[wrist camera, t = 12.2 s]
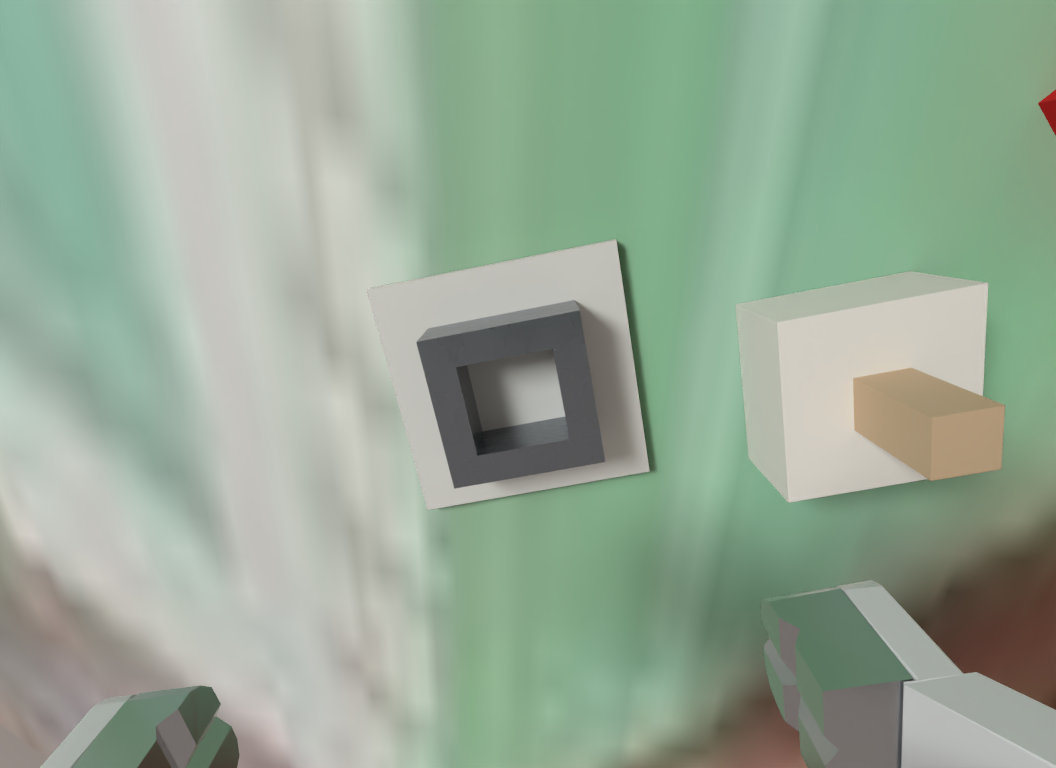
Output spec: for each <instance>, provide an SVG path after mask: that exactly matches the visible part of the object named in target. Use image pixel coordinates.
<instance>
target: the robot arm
mask: <svg viewBox="0 0 1056 768" xmlns="http://www.w3.org/2000/svg"><path fill="white" fill-rule="evenodd" d="M760 610H761V622H762V624H763V626H764V628H765V630H766V632H767V634H768V635H769V637H770V638H769V640H768V641H767V643H766V644H765V645H764V647H763V651H764V660H765V668H766V672H767V676H768V680H769V684H770V688H771V690H772V693H773V696H774V698H775V701H776V703H777V706H778V708H779V710H780V712H781V714H782V716H783V718H784V720H785V722H786V723H788V724H789V725H791V726H792V727H793V728H795V729H796V730H798V731H799V735H800V750H801V755H802V757H803V759H804V761H805V763H806V765H807V767H808V768H1056V710H1055V709H1053V708H1051V707H1049V706H1046V705H1044V704H1042V703H1040V702H1038V701H1036V700H1034V699H1032V698H1030V697H1028V696H1026V695H1024V694H1021V693H1019V692H1017V691H1015V690H1013V689H1011V688H1009V687H1007V686H1005V685H1003V684H1001V683H999V682H996V681H994V680H992V679H990V678H988V677H986V676H984V675H982V674H980V673H978V672H974V673H965V674H964V673H963V672H962V671H961V670H960V669H959V668H958V667H957V666H956V665H955V664H954V663H953V661H952V660H951V659H950V658H949V657H948V656H947V655H946V654H945V653H944V652H943V651H942V650H941V649H940V647H939V646H938V645H937V644H936V643H935V642H934V641H933V640H932V639H931V638H930V637H929V636H928V635H927V634H926V632H925V631H924V630H923V629H922V628H921V627H920V626H919V625H918V624H917V623H916V622H915V621H914V620H913V618H912V617H911V616H910V615H909V614H908V613H907V612H906V611H905V610H904V609H903V608H902V607H901V606H900V605H899V603H898V602H897V601H896V600H895V599H894V598H893V597H892V596H891V595H890V594H889V593H888V592H887V591H886V589H885V588H884V587H883V586H882V585H881V584H879V583H877V582H875V581H873V580H869V581H863V582H858V583H852V584H846V585H840V586H835V587H834V588H825V589H819V590H813V591H807V592H801V593H795V594H789V595H782V596H776V597H770V598H764V599H762V602H761V606H760ZM220 705H221V704H220V702H219V700H218V698H217V696H216V694H215V693H214V691H213V689H212V687H206V686H193V687H186V688H178V689H170V690H162V691H154V692H146V693H139V694H137V695H130V696H121V697H112V698H107V699H106V700H104V701H102V702H100V703H98V704H96V705H94V706H93V707H92V709H91V710H90V711H89V712H88V713H87V714H86V715H85V717H84V718H83V719H82V720H81V721H80V722H79V723H78V725H77V726H76V727H75V728H74V729H73V730H72V732H71V733H70V734H69V735H68V736H67V737H66V738H65V740H64V741H63V742H62V743H61V744H60V745H59V746H58V748H57V749H56V750H55V751H54V752H53V753H52V755H51V756H50V757H49V758H48V759H47V760H46V762H45V763H44V764H43V765H42V766H41V767H40V768H237V765H238V760H239V749H238V741H237V738H236V735H235V733H234V731H233V729H232V727H231V726H230V725H228V724H227V723H225V722H224V721H222V720H221V719H219V718H218V717H216V716H217V713H218V710H219V707H220Z"/></svg>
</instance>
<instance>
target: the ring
mask: <svg viewBox="0 0 1056 768" xmlns="http://www.w3.org/2000/svg"><path fill="white" fill-rule="evenodd" d="M416 343H417V347H418V351H419V355H420V359H421V363H422V366H423V370H424V374H425V378H426V382H427V386H428V389H429V393H430V397H431V401H432V405H433V409H434V413H435V416H436V420H437V424H438V428H439V432H440V436H441V439H442V443H443V447H444V451H445V455H446V459H447V463H448V466H449V470H450V474H451V478H452V482H453V486H454V489H455V488H461V487H467V486H472V485H478V484H484V483H489V482H495V481H501V480H506V479H512V478H518V477H523V476H529V475H535V474H540V473H546V472H552V471H557V470H563V469H569V468H574V467H580V466H586V465H591V464H597V463H603V462H605V456H604V450H603V444H602V438H601V433H600V427H599V421H598V415H597V409H596V403H595V397H594V391H593V385H592V379H591V373H590V367H589V362H588V356H587V350H586V344H585V338H584V332H583V326H582V320H581V314H580V310H579V308H578V306H577V304H576V302H575V300H572V301H566V302H561V303H556V304H551V305H546V306H541V307H536V308H530V309H525V310H520V311H515V312H510V313H505V314H500V315H494V316H489V317H484V318H479V319H474V320H469V321H464V322H458V323H453V324H448V325H443V326H438V327H433V328H428V329H427V330H426V331H425V333H424V334H423V335H422V336H421V337H420V338H419V339H418V340H417V342H416ZM550 349H553V353H554V359H555V364H556V369H557V375H558V380H559V385H560V391H561V396H562V401H563V407H564V412H565V417H559V418H554V419H548V420H543V421H537V422H532V423H527V424H521V425H516V426H510V427H505V428H499V429H494V430H488V431H482V427H481V422H480V418H479V414H478V410H477V405H476V401H475V397H474V393H473V388H472V384H471V380H470V376H469V371H468V367H467V365H471V364H476V363H481V362H486V361H492V360H497V359H502V358H508V357H513V356H518V355H523V354H529V353H534V352H539V351H544V350H550Z"/></svg>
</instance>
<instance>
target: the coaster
mask: <svg viewBox="0 0 1056 768" xmlns="http://www.w3.org/2000/svg"><path fill="white" fill-rule="evenodd" d="M367 293H368V296H369V300H370V304H371V307H372V311H373V314H374V318H375V322H376V325H377V329H378V332H379V336H380V340H381V343H382V347H383V350H384V354H385V358H386V361H387V365H388V368H389V372H390V376H391V379H392V383H393V386H394V390H395V394H396V397H397V401H398V404H399V408H400V412H401V415H402V419H403V422H404V426H405V430H406V433H407V437H408V440H409V444H410V448H411V451H412V455H413V458H414V462H415V466H416V469H417V473H418V476H419V480H420V484H421V487H422V491H423V494H424V498H425V502H426V505H427V509H428V510H431V509H436V508H442V507H448V506H454V505H459V504H465V503H471V502H477V501H482V500H488V499H494V498H500V497H505V496H511V495H517V494H523V493H528V492H534V491H540V490H546V489H551V488H557V487H563V486H569V485H574V484H580V483H586V482H592V481H597V480H603V479H609V478H615V477H620V476H626V475H632V474H638V473H643V472H649V464H648V457H647V450H646V443H645V436H644V429H643V422H642V415H641V408H640V401H639V394H638V387H637V380H636V373H635V366H634V359H633V352H632V345H631V338H630V331H629V324H628V317H627V310H626V303H625V296H624V290H623V283H622V276H621V269H620V262H619V255H618V248H617V241H616V240H615V239H614V240H609V241H604V242H599V243H593V244H588V245H583V246H578V247H573V248H568V249H563V250H558V251H553V252H548V253H543V254H538V255H533V256H528V257H523V258H518V259H513V260H508V261H503V262H498V263H493V264H488V265H483V266H478V267H473V268H468V269H463V270H458V271H453V272H448V273H443V274H438V275H433V276H428V277H423V278H418V279H413V280H408V281H403V282H397V283H392V284H387V285H382V286H377V287H372V288H369V289H367ZM572 300H575V302H576V304H577V306H578V308H579V310H580V314H581V320H582V326H583V332H584V338H585V344H586V350H587V356H588V362H589V367H590V373H591V379H592V385H593V391H594V397H595V403H596V409H597V415H598V421H599V427H600V433H601V438H602V444H603V450H604V456H605V462H603V463H597V464H591V465H586V466H580V467H574V468H569V469H563V470H557V471H552V472H546V473H540V474H535V475H529V476H523V477H518V478H512V479H506V480H501V481H495V482H489V483H484V484H478V485H472V486H467V487H461V488H455V489H454V486H453V482H452V478H451V474H450V470H449V466H448V463H447V459H446V455H445V451H444V447H443V443H442V439H441V436H440V432H439V428H438V424H437V420H436V416H435V413H434V409H433V405H432V401H431V397H430V393H429V389H428V386H427V382H426V378H425V374H424V370H423V366H422V363H421V359H420V355H419V351H418V347H417V343H416V342H417V340H418V339H419V338H420V337H421V336H422V335H423V334H424V333H425V331H426V330H427V329H428V328H433V327H438V326H443V325H448V324H453V323H458V322H464V321H469V320H474V319H479V318H484V317H489V316H494V315H500V314H505V313H510V312H515V311H520V310H525V309H530V308H536V307H541V306H546V305H551V304H556V303H561V302H566V301H572ZM467 367H468V371H469V376H470V380H471V384H472V388H473V393H474V397H475V401H476V405H477V410H478V414H479V418H480V422H481V427H482V431H488V430H494V429H499V428H505V427H510V426H516V425H521V424H527V423H532V422H537V421H543V420H548V419H554V418H559V417H565V412H564V407H563V401H562V396H561V391H560V385H559V380H558V375H557V369H556V364H555V359H554V353H553V349H550V350H544V351H539V352H534V353H529V354H523V355H518V356H513V357H508V358H502V359H497V360H492V361H486V362H481V363H476V364H471V365H467Z"/></svg>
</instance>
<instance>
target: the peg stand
mask: <svg viewBox="0 0 1056 768" xmlns="http://www.w3.org/2000/svg"><path fill="white" fill-rule="evenodd" d="M987 298H988V283H985V282H979V281H972V280H965V279H959V278H952V277H945V276H939V275H932V274H925V273H919V272H912V271H908V272H903V273H897V274H892V275H887V276H882V277H876V278H871V279H866V280H861V281H855V282H850V283H845V284H839V285H834V286H829V287H824V288H818V289H813V290H808V291H803V292H797V293H792V294H787V295H782V296H776V297H771V298H766V299H760V300H755V301H750V302H745V303H739V304H735V306H736V318H737V329H738V341H739V353H740V364H741V376H742V388H743V399H744V411H745V423H746V435H747V446H748V458H749V459H750V460H751V461H752V462H753V464H754V465H755V466H756V467H757V468H758V469H759V470H760V471H761V472H762V474H763V475H764V476H765V477H766V478H767V479H768V480H769V481H770V482H771V484H772V485H773V486H774V487H775V488H776V489H777V490H778V491H779V492H780V494H781V495H782V496H783V497H784V498H785V499H786V500H787V501H788V502H795V501H801V500H807V499H812V498H818V497H824V496H830V495H836V494H842V493H848V492H854V491H860V490H866V489H872V488H878V487H884V486H890V485H896V484H902V483H907V482H913V481H919V480H925V479H929V480H930V481H933V480H939V479H945V478H951V477H957V476H963V475H969V474H975V473H981V472H987V471H993V470H999V469H1001V465H1002V448H1003V431H1004V414H1005V405H1003V404H1001V403H998V402H996V401H993V400H991V399H988V398H986V397H983V383H984V361H985V340H986V319H987Z"/></svg>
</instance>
